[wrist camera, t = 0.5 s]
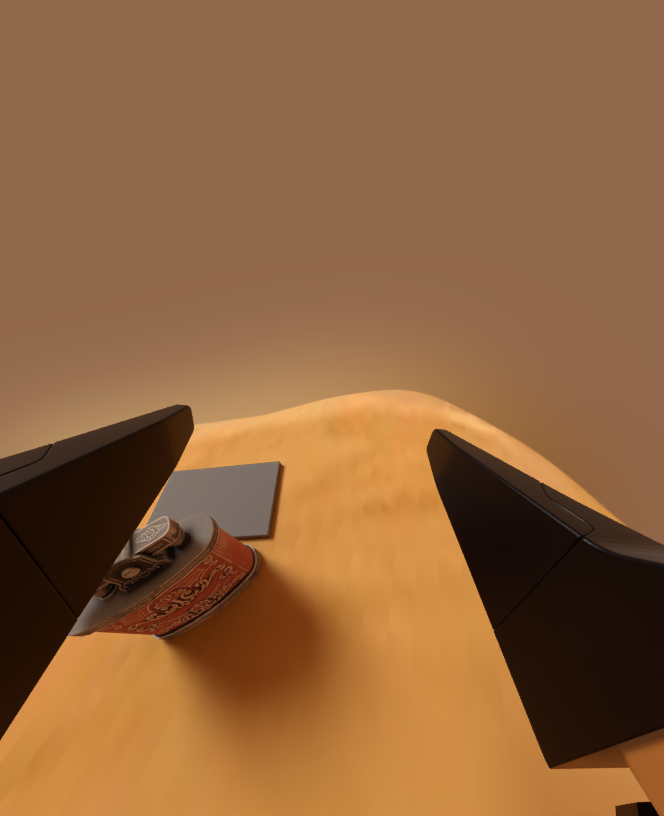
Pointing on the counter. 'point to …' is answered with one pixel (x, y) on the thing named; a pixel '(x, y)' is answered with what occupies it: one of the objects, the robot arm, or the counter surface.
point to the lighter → (169, 579)
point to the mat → (224, 497)
